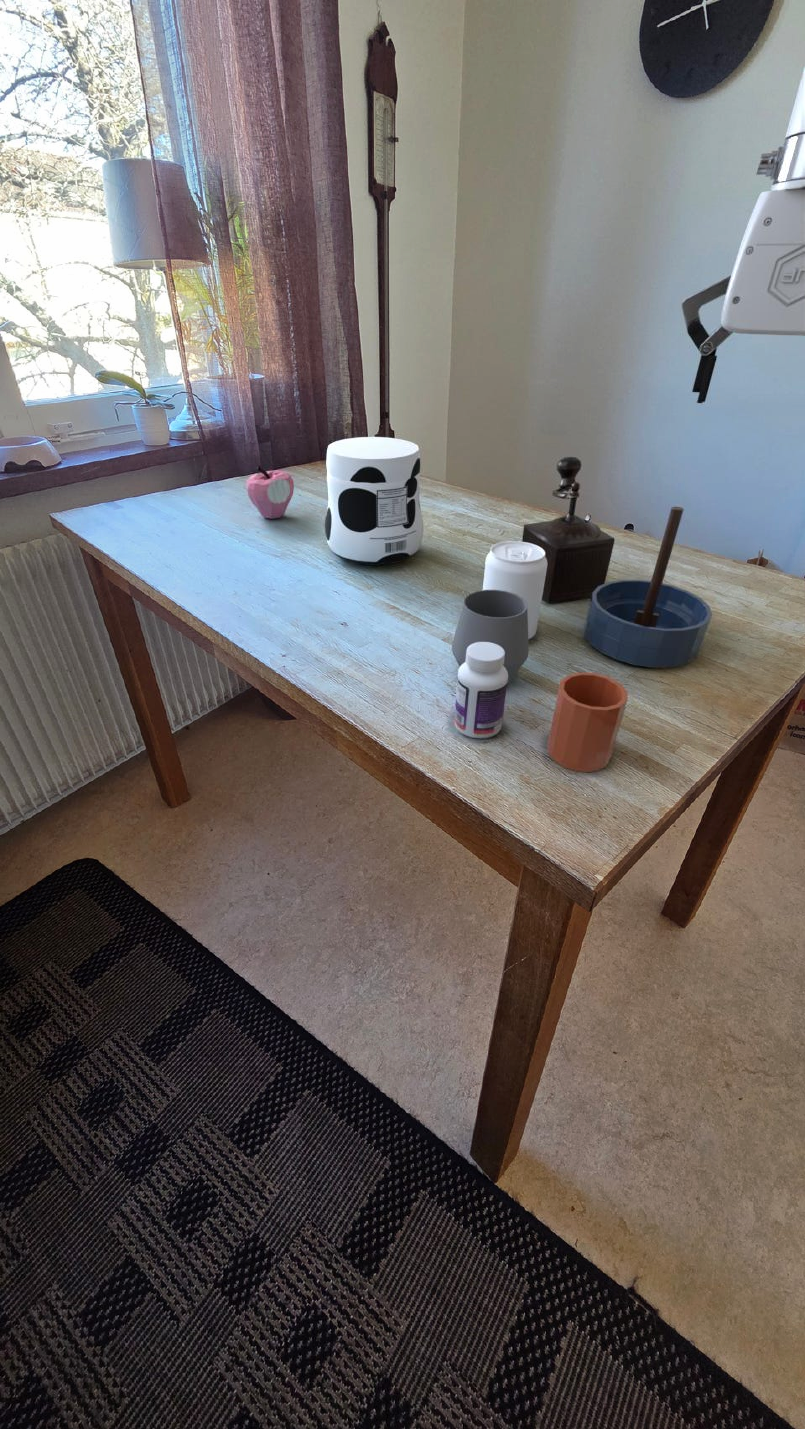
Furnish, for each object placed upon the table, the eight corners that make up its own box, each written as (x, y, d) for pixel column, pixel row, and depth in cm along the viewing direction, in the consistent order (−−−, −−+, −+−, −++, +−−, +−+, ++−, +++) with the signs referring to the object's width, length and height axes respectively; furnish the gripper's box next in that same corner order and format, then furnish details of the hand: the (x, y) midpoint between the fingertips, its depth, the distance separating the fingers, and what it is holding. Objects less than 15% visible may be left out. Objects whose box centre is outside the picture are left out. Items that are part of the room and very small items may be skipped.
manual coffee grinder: (608, 595, 96) (635, 478, 85) (547, 605, 93) (568, 485, 82) (556, 559, 108) (575, 452, 97) (501, 566, 105) (514, 457, 94)
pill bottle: (507, 718, 69) (518, 644, 63) (493, 745, 65) (503, 669, 60) (463, 706, 71) (469, 633, 65) (446, 731, 67) (452, 657, 61)
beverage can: (537, 622, 88) (550, 543, 81) (534, 649, 82) (548, 566, 75) (482, 615, 90) (490, 537, 83) (475, 642, 83) (483, 559, 76)
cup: (517, 655, 81) (527, 586, 75) (530, 695, 73) (543, 622, 67) (447, 655, 80) (451, 586, 74) (453, 695, 73) (459, 622, 67)
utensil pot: (623, 763, 63) (642, 701, 58) (569, 778, 61) (584, 715, 56) (586, 727, 68) (600, 667, 63) (534, 740, 66) (546, 679, 61)
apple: (259, 526, 119) (253, 474, 113) (243, 514, 125) (236, 463, 119) (303, 518, 123) (299, 467, 117) (286, 507, 129) (281, 457, 123)
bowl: (722, 659, 81) (738, 619, 77) (630, 680, 76) (642, 639, 72) (646, 610, 92) (657, 573, 88) (562, 626, 87) (569, 588, 84)
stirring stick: (651, 638, 84) (690, 508, 73) (650, 643, 83) (689, 511, 72) (630, 634, 85) (665, 505, 74) (629, 638, 84) (665, 508, 73)
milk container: (355, 530, 118) (352, 431, 107) (437, 545, 112) (442, 442, 101) (308, 561, 105) (299, 452, 95) (397, 580, 100) (398, 466, 89)
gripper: (710, 168, 49) (657, 404, 58) (973, 154, 43) (864, 418, 53) (712, 180, 54) (663, 394, 64) (945, 169, 48) (851, 405, 58)
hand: (754, 404), depth 58 cm, fingers open, 9 cm apart
